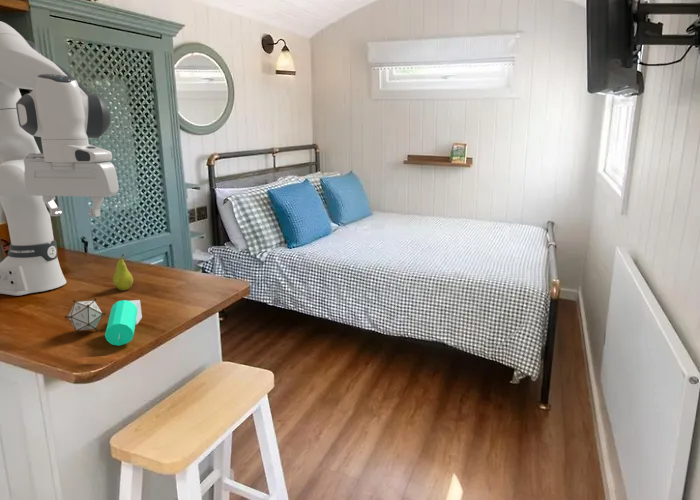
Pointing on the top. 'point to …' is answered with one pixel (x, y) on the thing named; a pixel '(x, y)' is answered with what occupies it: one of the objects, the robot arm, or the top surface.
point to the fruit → (122, 276)
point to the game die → (85, 315)
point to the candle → (121, 323)
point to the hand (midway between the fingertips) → (75, 216)
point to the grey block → (139, 314)
